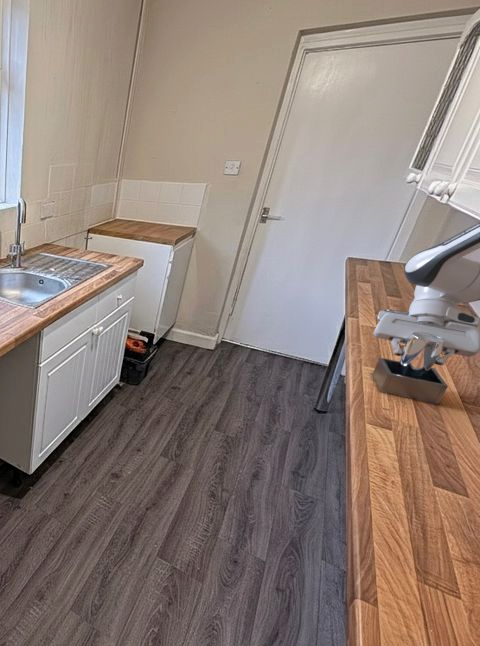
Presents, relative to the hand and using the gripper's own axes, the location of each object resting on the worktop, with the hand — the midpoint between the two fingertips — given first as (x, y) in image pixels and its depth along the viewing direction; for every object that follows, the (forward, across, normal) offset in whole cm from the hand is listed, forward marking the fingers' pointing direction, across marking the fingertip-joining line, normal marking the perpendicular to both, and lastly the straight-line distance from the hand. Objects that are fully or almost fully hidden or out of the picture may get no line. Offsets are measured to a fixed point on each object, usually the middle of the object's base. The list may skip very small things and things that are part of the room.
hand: (418, 359), depth 113 cm
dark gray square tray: (+6, 0, +7) cm, 10 cm away
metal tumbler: (+6, 0, +6) cm, 9 cm away
